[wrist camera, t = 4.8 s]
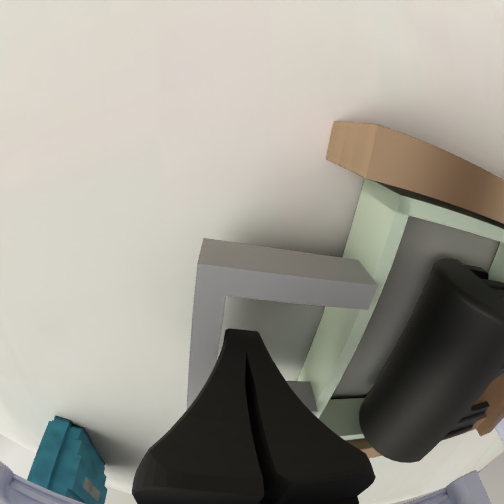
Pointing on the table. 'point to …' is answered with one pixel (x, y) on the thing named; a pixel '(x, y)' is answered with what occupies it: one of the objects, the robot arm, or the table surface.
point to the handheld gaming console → (69, 464)
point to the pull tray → (322, 291)
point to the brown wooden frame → (429, 184)
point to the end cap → (438, 365)
